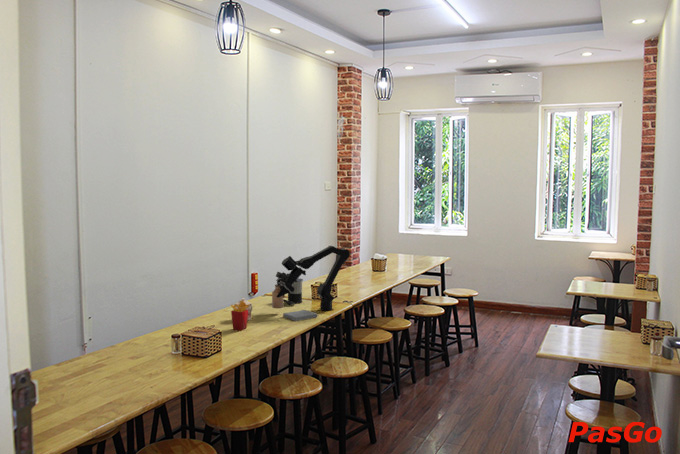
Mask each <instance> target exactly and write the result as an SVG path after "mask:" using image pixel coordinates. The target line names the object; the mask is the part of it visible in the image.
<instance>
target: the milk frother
mask: <svg viewBox="0 0 680 454" xmlns="http://www.w3.org/2000/svg"><path fill="white" fill-rule="evenodd" d="M303 282H304V279H303V278H300V277H299V278H298V279H297V282H294V283H293V284H292V286H293V287H294V288H295V290H294V291H293V293H292V292H291V291H290V293H287V299H285V297H286V296H285V295H286V294H285V295H283V303H285V304H286V305H289V306H291V305H292V306H294V305H295V304H301V303H303Z"/></svg>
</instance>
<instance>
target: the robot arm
mask: <svg viewBox="0 0 680 454" xmlns="http://www.w3.org/2000/svg"><path fill="white" fill-rule="evenodd" d="M332 254H335V260H334V263H333V264H332V267H331V269H330V271H329V273H328V275H327V277H326V278H325V280H324V282H320V283H319V284H318V287H317V288H316V289H317V290H316V291H317V295H318V296H319V298H320V302H319V303H320V306H319V307H320V308H319V310H320V311H323V312H330V311H334V310H335V309H334V308H333V301H334V298H335V297H334V296H333V295H332V294H331V292H332V287H333V283H334V282H335V280H336V277H337V276H338V274H339V272H340V269H341V268H342V265H344V264H345V263H346V262H347V260H348V259H349V258H350V256H351V252H350V251H349V249H347V248H343V247H342V248H339V247H336V246H333V245H328V246H327V247H325V248H323V249H322V250H320V251H318V252H316V253H314V254H312V255H310V256H305V257H303V258H300V259H299V260H296V261H295V259H293V257H292V256H291V255H289V256H288V257H286V258H284V259H283V260H282V261H281V265H282V266H283V267H284V268H285V269H286V270H287V271H289V273H286V272H284V271H283V272H280V271H277V272H276V274H275V277H276V278H277V279H276V280H275V281H276V284H279V285H280V292H279V293H278V295H277V298H278V297H281V296H283V295H288V293H290V291H291V292H292V293H293V291H294V290H295V288H294V287H293V286H292V284H293V283H294V282H297V279H298V278H300V277H302V275H303V276H306V275H307V273H306V272H307V271H306V270H308V269H310V268H311V267H313V266H314V264H315V263H317V262H319V261H320V260H322V259H323V258H325V257H327V256H330V255H332Z"/></svg>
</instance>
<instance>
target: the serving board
mask: <svg viewBox="0 0 680 454" xmlns="http://www.w3.org/2000/svg"><path fill="white" fill-rule="evenodd" d="M282 317H283V318H286V319H288V320H291V321H294V322H298V321H303V320H309V319H314V318H318V313H316V312H312V311H310V310H306V309H301V310H296V311H290V312H283V315H282Z"/></svg>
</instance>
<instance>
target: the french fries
mask: <svg viewBox="0 0 680 454" xmlns="http://www.w3.org/2000/svg"><path fill="white" fill-rule="evenodd" d="M236 306H237V307H238V309H237V308H236ZM249 306H250V304H249V305H247V304H246V303H245V302H244V301H241V302H240V304H239V306H238V305H235V304H230V307H231V308H232V309H233V310H231V311H230V313H231V322H232V329H233V331H240V332H241V331H245V330H246V329H247V326H248V321H247V318H248V310H246V308H248V307H249ZM241 307H242V309H241Z"/></svg>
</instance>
